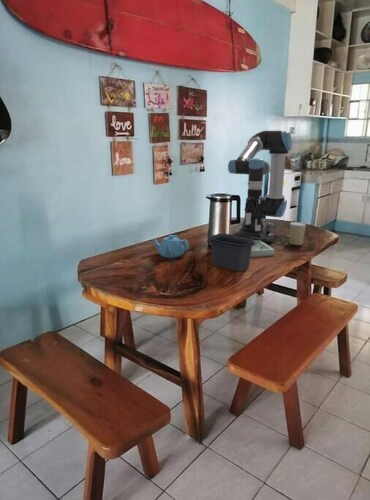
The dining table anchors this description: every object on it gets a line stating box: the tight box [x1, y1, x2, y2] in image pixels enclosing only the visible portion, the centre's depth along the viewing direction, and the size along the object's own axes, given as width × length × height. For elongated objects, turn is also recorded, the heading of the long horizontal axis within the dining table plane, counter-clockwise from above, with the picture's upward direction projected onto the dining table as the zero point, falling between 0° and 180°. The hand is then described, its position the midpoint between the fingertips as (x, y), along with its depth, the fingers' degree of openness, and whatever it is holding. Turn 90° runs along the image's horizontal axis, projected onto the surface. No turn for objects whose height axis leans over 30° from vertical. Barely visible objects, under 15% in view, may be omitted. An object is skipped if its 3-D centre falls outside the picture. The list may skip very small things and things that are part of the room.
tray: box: [250, 239, 276, 258], centre depth 205 cm, size 19×19×3 cm
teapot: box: [152, 234, 190, 259], centre depth 196 cm, size 15×15×11 cm
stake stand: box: [260, 222, 275, 245], centre depth 223 cm, size 8×8×12 cm
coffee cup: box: [288, 221, 307, 246], centre depth 220 cm, size 9×9×12 cm
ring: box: [251, 241, 262, 250], centre depth 205 cm, size 11×11×4 cm
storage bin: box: [208, 232, 255, 272], centre depth 180 cm, size 21×16×14 cm
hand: (252, 227), depth 202 cm, fingers open, 13 cm apart
